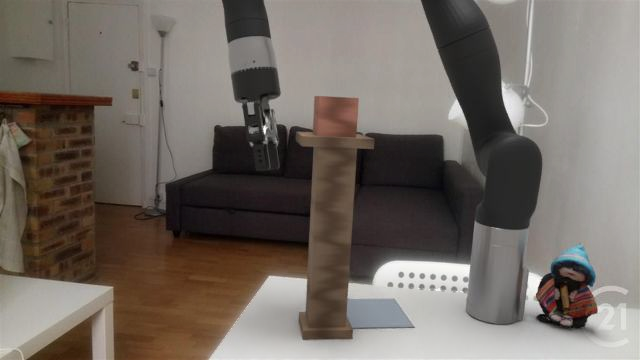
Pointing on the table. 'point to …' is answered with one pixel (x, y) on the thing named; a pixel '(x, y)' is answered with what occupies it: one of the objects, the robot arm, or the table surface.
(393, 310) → the pad
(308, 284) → the wooden pedestal column
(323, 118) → the mallet
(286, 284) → the table surface
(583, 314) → the figurine
